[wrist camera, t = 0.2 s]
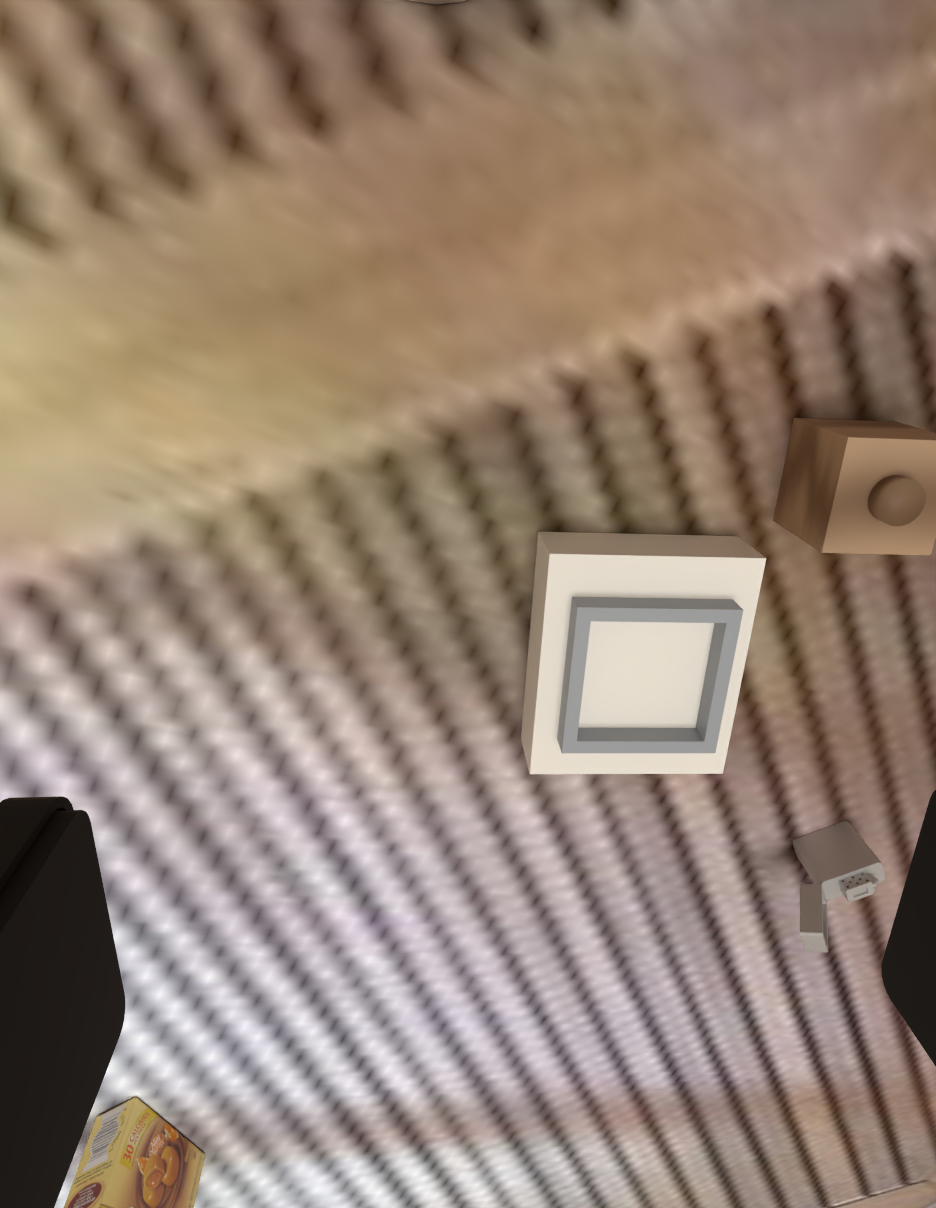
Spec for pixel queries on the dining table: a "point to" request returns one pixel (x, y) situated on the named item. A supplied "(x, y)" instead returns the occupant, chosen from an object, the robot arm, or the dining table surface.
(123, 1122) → the candy box
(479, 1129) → the dining table surface
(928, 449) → the walnut block
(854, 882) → the lighter
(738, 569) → the base plate
